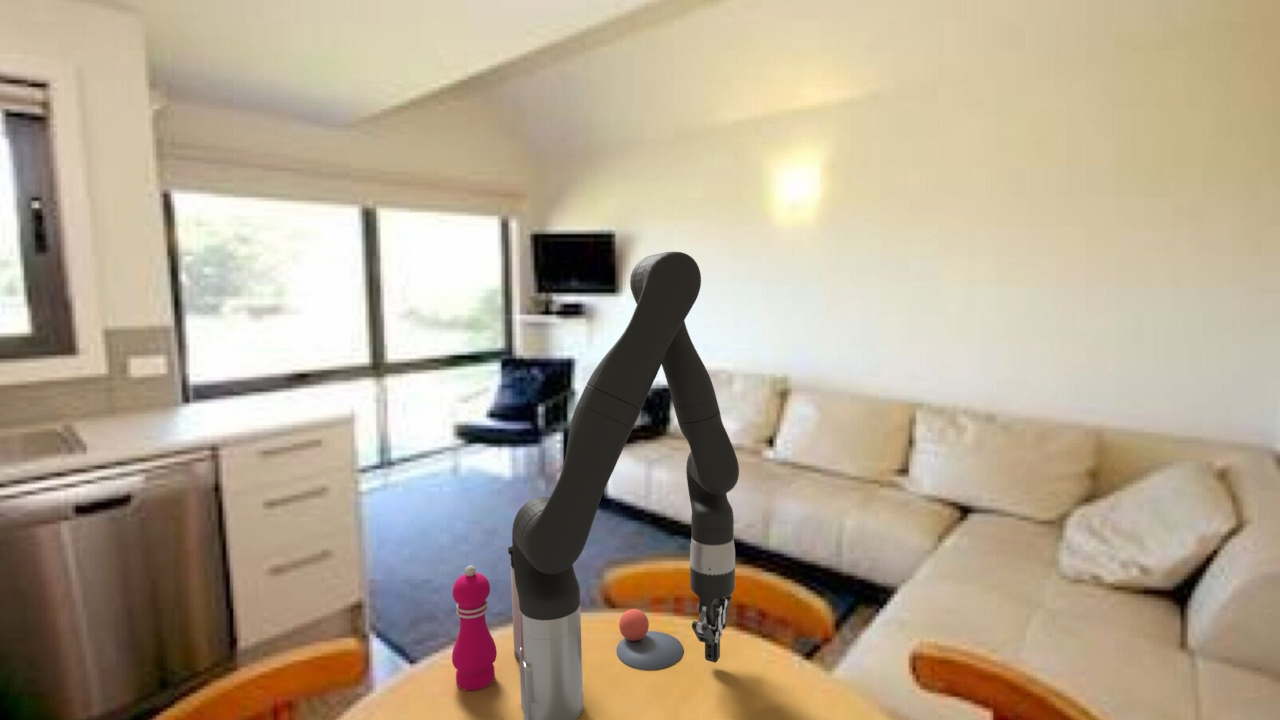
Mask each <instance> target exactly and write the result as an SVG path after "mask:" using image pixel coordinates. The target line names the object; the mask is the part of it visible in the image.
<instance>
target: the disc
mask: <svg viewBox="0 0 1280 720" xmlns="http://www.w3.org/2000/svg"><path fill="white" fill-rule="evenodd" d="M615 652H616V657H618V659H619V661H621V662H622V663H623V664H625V665H626V666H628V667H630V668H633V669H637V670H641V671H642V670H643V671H654V670H655V671H656V670H662V669H665V668H669V667H671V666H673V665H675V664H676V663H678V662H679V660H680V659H682V656H683V654H684V646H683V644H682V643H681V642H680V640H679V639H678V638H676V637H675V636H673V635H671V634H668V633H665V632H661V631H656V630H648V631H647V633H646V635H645V636H644V637H643V638H642V639H640V640H637V641H630V640H628V639H626V638H625V637H624V638H622V639H621V640H620V641H619V643H618V644H617V646H616V651H615Z"/></svg>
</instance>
